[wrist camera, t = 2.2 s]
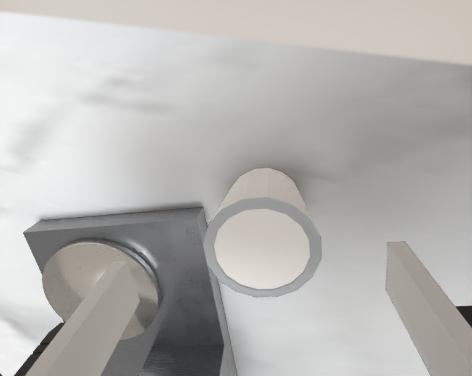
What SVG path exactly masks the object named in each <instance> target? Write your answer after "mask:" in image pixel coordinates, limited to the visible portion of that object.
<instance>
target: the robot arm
mask: <svg viewBox="0 0 472 376" xmlns="http://www.w3.org/2000/svg"><path fill="white" fill-rule="evenodd" d="M386 291H387V293H388V295H389V297H390V299H391V301H392V303H393V305H394V306H395V308H396V310H397V312H398V314H399V316H400V318H401V320H402V322H403V324H404V326H405V328H406V330H407V331H408V333H409V335H410V337H411V339H412V341H413V343H414V345H415V347H416V349H417V351H418V353H419V355H420V356H421V358H422V360H423V362H424V364H425V366H426V368H427V370H428V372H429V374H430V376H472V306H454V304H453V303H452V302H451V300H450V299H449V298H448V296H447V295H446V294H445V293H444V291H443V290H442V289H441V287H440V286H439V285H438V283H437V282H436V281H435V280H434V278H433V277H432V276H431V274H430V273H429V272H428V270H427V269H426V268H425V267H424V265H423V264H422V263H421V261H420V260H419V259H418V257H417V256H416V255H415V254H414V252H413V251H412V250H411V248H410V247H409V246H408V244H407V243H406V242H405V241H400V242H388V245H387V267H386ZM139 302H140V300H139V297H138V294H137V291H136V288H135V285H134V282H133V279H132V276H131V273H130V270H129V267H128V264H127V261H113V262H112V263H111V265H110V266H109V267H108V269H107V270H106V271H105V272H104V274H103V275H102V276H101V278H100V279H99V280H98V281H97V283H96V284H95V285H94V287H93V288H92V289H91V291H90V292H89V293H88V294H87V296H86V297H85V298H84V300H83V301H82V302H81V304H80V305H79V306H78V307H77V309H76V310H75V311H74V313H73V314H72V315H71V317H70V318H69V319H68V320H67V322H66V323H60V324H59V325H57V326H56V327H55V328H54V329H53V330H51V331H50V332H49V333H48V334H47V335H46V337H45V338H44V339H43V340H42V342H41V343H40V345H38V347H37V348H36V349H35V350H34V352H33V354H31V355H30V357H29V358H28V359H27V360H26V362H25V363H24V364H23V365H22V367H21V368H20V369H19V370H18V371H17V373H16V374H15V375H14V376H100V375H101V374H102V372H103V370H104V368H105V366H106V364H107V362H108V360H109V359H110V357H111V355H112V353H113V351H114V349H115V347H116V345H117V343H118V342H119V340H120V338H121V336H122V334H123V332H124V330H125V328H126V326H127V325H128V323H129V321H130V319H131V317H132V315H133V313H134V311H135V309H136V308H137V306H138V304H139ZM0 376H2V375H1V374H0Z"/></svg>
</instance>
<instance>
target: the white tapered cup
mask: <svg viewBox="0 0 472 376" xmlns="http://www.w3.org/2000/svg"><path fill="white" fill-rule="evenodd" d="M203 246H204V251H205V257H206V262H207V264H208V266H209V267H210V268H211V270H212V271H213V273H214V274H215V276H216V277H217V279H218V280H220V281H221V282H223V283H224V284H225V285H227V286H228V287H230V288H231V289H233V290H234V291H236V292H239V293H243V294H246V295H250V296H253V297H278V296H281V295H284V294H287V293H290V292H292V291H295V290H298V289H299V288H300V287H301V286H302V285H303V284H305V283H306V282H307V281H308V280H309V279H310V278H312V277H313V275H314V273H315V271H316V269H317V267H318V264H319V262H320V260H321V237H320V235H319V233H318V231H317V229H316V227H315V224H314V222H313V220H312V218H311V216H310V214H309V212H308V209H307V207H306V205H305V203H304V201H303V199H302V197H301V194H300V192H299V190H298V189H297V187H296V185H295V183H294V181H293V180H292V179H291V178H289V177H288V176H287V175H286V174H284V173H283V172H281V171H278V170H274V169H271V168H259V169H253V170H251V171H249V172H247V173H245V174H243V175H241V176H240V177H239V178H238V180H237V181H236V182H235V183H234V184H233V185H232V187H231V189H230V190H229V192H228V193H227V195H226V197H225V198H224V200H223V202H222V203H221V205H220V206H219V208H218V210H217V211H216V213H215V215H214V216H213V218H212V219H211V221H210V223H209V224H208V227H207V231H206V235H205V238H204V242H203Z"/></svg>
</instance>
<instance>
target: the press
mask: <svg viewBox="0 0 472 376" xmlns="http://www.w3.org/2000/svg"><path fill="white" fill-rule="evenodd" d="M206 231H207V225H206V220H205V215H204V210H203V207H197V208H186V209H174V210H162V211H151V212H139V213H127V214H116V215H104V216H92V217H81V218H69V219H57V220H46V221H39V222H38V223H36V224H35V225H33V226H32V227H30V228H29V229H27V230H26V231H24V232H23V234H24V236H25V238H26V240H27V243H28V245H29V247H30V249H31V251H32V253H33V256H34V258H35V260H36V262H37V264H38V267H39V269H40V271H41V273H42V275H43V277H42V282H43V289H44V293H45V295H46V298H47V300H48V301H49V303H50V305H51V306H52V308H53V309H54V310H55V312H56V313H57V314H58V315H59V316H60V317H61V318H62V319H63V321H64V323H66V322H67V320H68V319H69V318H70V317H71V315H72V314H73V313H74V311H75V310H76V309H77V307H78V306H79V305H80V304H81V302H82V301H83V300H84V298H85V297H86V296H87V294H88V293H89V292H90V291H91V289H92V288H93V287H94V285H95V284H96V283H97V281H98V280H99V279H100V278H101V276H102V275H103V274H104V272H105V271H106V270H107V269H108V267H109V266H110V265H111V263H112V262H113V261H127V264H128V267H129V270H130V273H131V276H132V279H133V282H134V285H135V288H136V291H137V294H138V297H139V300H140V302H139V304H138V306H137V308H136V309H135V311H134V313H133V315H132V317H131V319H130V321H129V323H128V325H127V326H126V328H125V330H124V332H123V334H122V336H121V338H120V340H119V342H118V343H117V345H116V347H115V349H114V351H113V353H112V355H111V357H110V359H109V360H108V362H107V364H106V366H105V368H104V370H103V372H102V374H101V375H100V376H237V372H236V367H235V362H234V357H233V352H232V347H231V343H230V338H229V333H228V328H227V323H226V318H225V313H224V308H223V303H222V298H221V294H220V289H219V284H218V279H217V277H216V276H215V274H214V273H213V271H212V270H211V268H210V267H209V266H208V264H207V262H206V257H205V251H204V246H203V242H204V238H205V235H206Z"/></svg>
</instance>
